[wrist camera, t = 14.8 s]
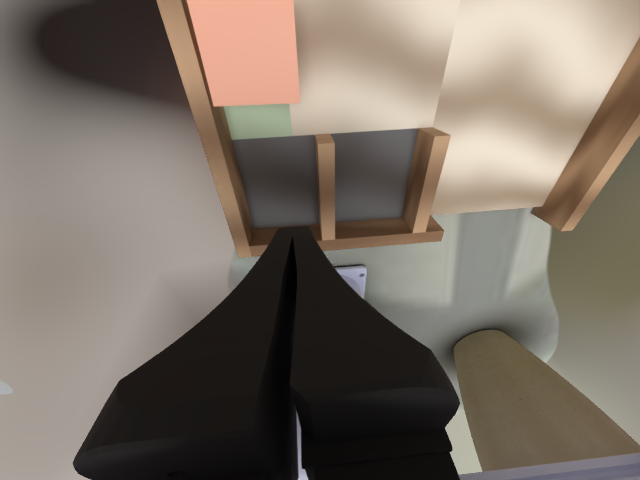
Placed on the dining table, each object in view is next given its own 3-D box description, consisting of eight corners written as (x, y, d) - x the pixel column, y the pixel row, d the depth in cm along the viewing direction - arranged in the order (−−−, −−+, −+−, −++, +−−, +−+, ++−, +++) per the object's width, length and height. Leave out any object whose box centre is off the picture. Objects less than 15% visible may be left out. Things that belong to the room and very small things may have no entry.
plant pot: (431, 323, 31) (527, 504, 18) (547, 303, 30) (732, 475, 18) (423, 375, 40) (483, 521, 27) (513, 360, 39) (618, 502, 26)
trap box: (541, 212, 22) (572, 230, 19) (245, 235, 21) (238, 257, 18) (716, -88, 12) (825, -129, 9) (159, -73, 11) (119, -114, 8)
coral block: (299, 95, 14) (300, 103, 11) (232, 97, 14) (213, 106, 11) (293, 3, 12) (292, -21, 9) (213, 4, 12) (181, -19, 9)
